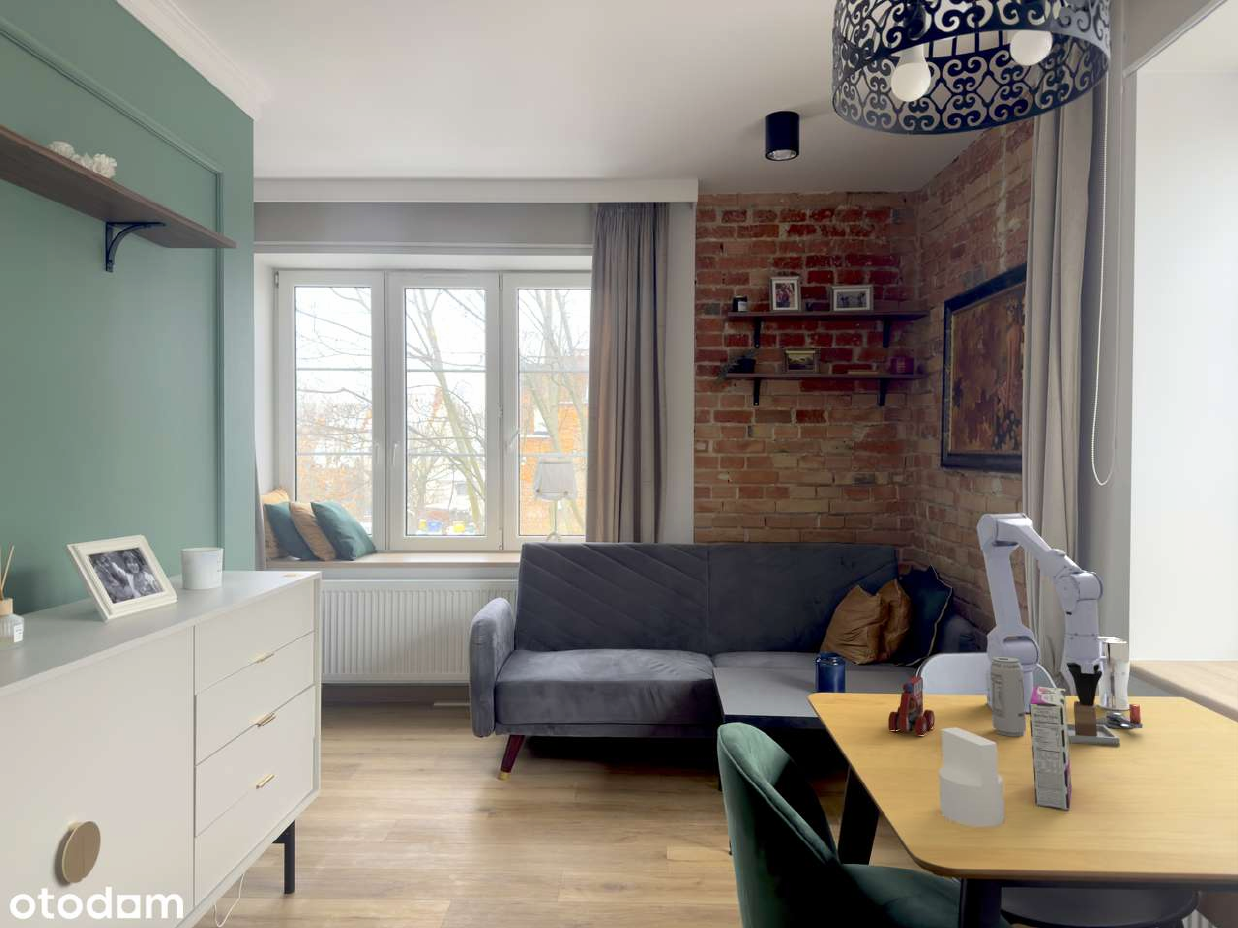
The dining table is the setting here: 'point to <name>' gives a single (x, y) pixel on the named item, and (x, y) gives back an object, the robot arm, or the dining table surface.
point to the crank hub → (1112, 723)
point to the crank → (1134, 717)
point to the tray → (1102, 738)
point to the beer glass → (1114, 673)
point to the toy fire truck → (912, 710)
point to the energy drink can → (1008, 696)
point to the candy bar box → (1050, 747)
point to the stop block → (1085, 719)
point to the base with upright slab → (970, 780)
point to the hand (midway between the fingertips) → (1085, 702)
